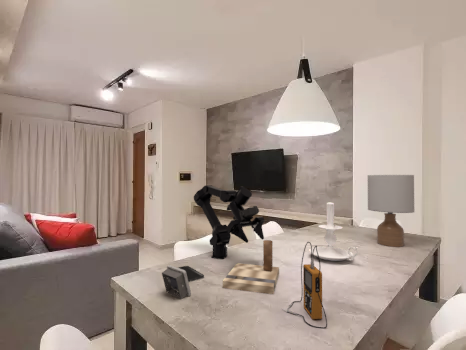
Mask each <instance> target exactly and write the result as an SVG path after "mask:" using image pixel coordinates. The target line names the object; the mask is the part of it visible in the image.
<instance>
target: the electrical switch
mask: <svg viewBox="0 0 466 350" xmlns="http://www.w3.org/2000/svg"><path fill="white" fill-rule="evenodd" d="M161 276H162V280H163V284H164V287H165V291H166V293H168V294H169V295H171V296H174V297H176V298H178V299H180V300H182V299H184V298H185V297H186V296H188V297H190V296H191V295H192V291H191V286H190V282H188V278H187V274H186V271H185V270H183V269H180V268H178V267H176V266H173V265H171V264H169V265H167V266H166V269H165V270H164V271H162V272H161Z"/></svg>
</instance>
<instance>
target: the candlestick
mask: <svg viewBox="0 0 466 350" xmlns="http://www.w3.org/2000/svg"><path fill="white" fill-rule="evenodd" d="M325 211H326V224H320V225H317V226H318V228H321V229H323V230H325V231H326V232H325V234H324V237H323V238H324V239H323V240H324V242H325V243H326V244H327V246H317V251H316V247H315V246H312V256H315V257H317V258H318V255H319V259H320V260H325V261H330V262H341V261H345V260H347V261H351V262H352V261H354V260H355V258H356V257H357V256H358V249H359V247H357V246H348V248H347V249H345V248H341V247H334V245H335V244H336V242H337V236H336V234H335V231H337V230H341V229H343V228H344V227H343V226H341V225H337V224H335V223H334V222H335V221H334V219H335V203H334V202H330V201H329V202H326V209H325ZM334 224H335V225H334ZM314 247H315V249H314ZM313 249H314V252H313ZM350 249H353V250H354V252H355V253H353V252H352V251H350ZM308 252H309V253H310V254H311V247H310V248H309V249H308ZM317 252H318V255H317Z"/></svg>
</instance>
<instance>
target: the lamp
mask: <svg viewBox="0 0 466 350" xmlns="http://www.w3.org/2000/svg"><path fill="white" fill-rule="evenodd" d="M367 210H368V211H372V212H378V213H383V214H384V219H383V221H382V222H381V223H379V224H378V225H377V228H376V234H377V235H376V243H377V244H378V245H381V246H386V247H391V248H392V247H393V248H394V247H395V248H399V247H404V246H405V229H404V228H403V227H402V225H401V224H399V222H397V218H396V215H397V214H413V213H415V174H373V175H372V174H369V175H367Z"/></svg>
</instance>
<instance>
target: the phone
mask: <svg viewBox="0 0 466 350" xmlns="http://www.w3.org/2000/svg"><path fill="white" fill-rule="evenodd" d="M177 268H180V269H183V270H185V271H186V274H187V278H188V282H189V283H191V282H194V281H198V280H201V279H204V278H205V275H204V274H203V273H201V272H200V271H198V270H196V269H195V268H193V267H191V266H190V265H183V266H178V267H177Z"/></svg>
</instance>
